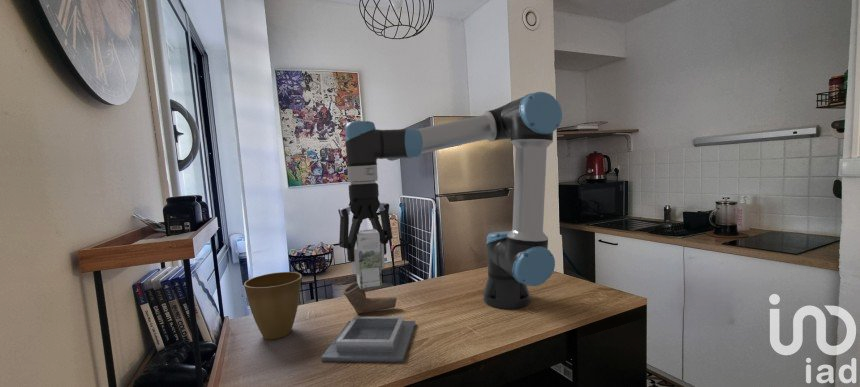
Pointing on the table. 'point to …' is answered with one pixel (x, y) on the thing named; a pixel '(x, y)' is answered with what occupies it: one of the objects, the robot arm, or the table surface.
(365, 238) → the syrup box
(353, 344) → the duct plate
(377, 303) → the pipe
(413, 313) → the table surface
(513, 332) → the table surface
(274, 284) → the plant pot
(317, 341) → the table surface
